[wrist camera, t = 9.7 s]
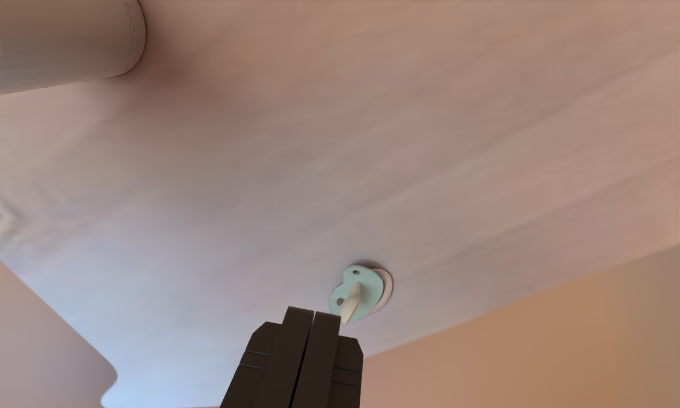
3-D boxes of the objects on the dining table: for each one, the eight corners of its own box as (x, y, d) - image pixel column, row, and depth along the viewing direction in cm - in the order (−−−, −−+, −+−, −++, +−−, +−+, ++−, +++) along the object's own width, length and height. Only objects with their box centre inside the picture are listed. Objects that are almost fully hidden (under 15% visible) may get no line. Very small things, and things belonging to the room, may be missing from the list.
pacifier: (403, 271, 42) (352, 250, 41) (407, 309, 36) (348, 286, 35) (374, 318, 45) (326, 299, 44) (373, 361, 39) (318, 340, 38)
